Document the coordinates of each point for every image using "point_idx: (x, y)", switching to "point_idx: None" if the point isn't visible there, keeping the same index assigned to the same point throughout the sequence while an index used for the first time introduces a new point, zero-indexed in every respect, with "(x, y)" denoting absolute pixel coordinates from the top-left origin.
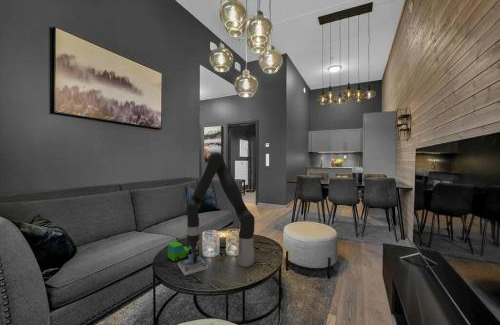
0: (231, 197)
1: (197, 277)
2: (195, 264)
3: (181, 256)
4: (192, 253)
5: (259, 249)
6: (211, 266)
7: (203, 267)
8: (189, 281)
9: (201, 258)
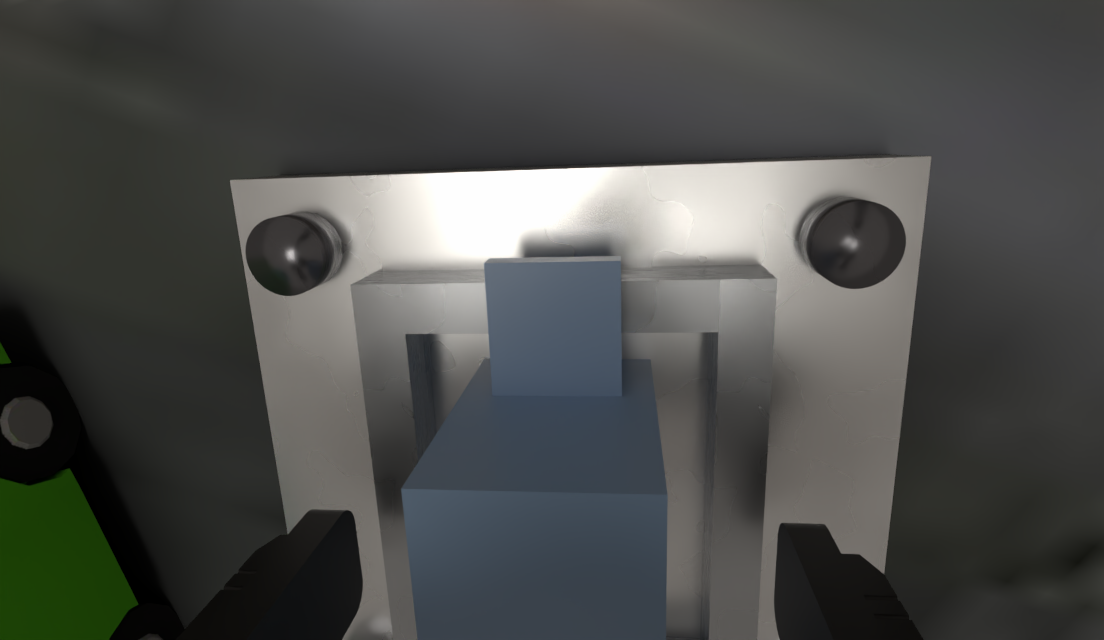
0: None
1: (1098, 506)
2: (759, 501)
3: (81, 590)
4: (305, 564)
5: None
6: (815, 5)
7: (907, 297)
8: None
9: (576, 268)
